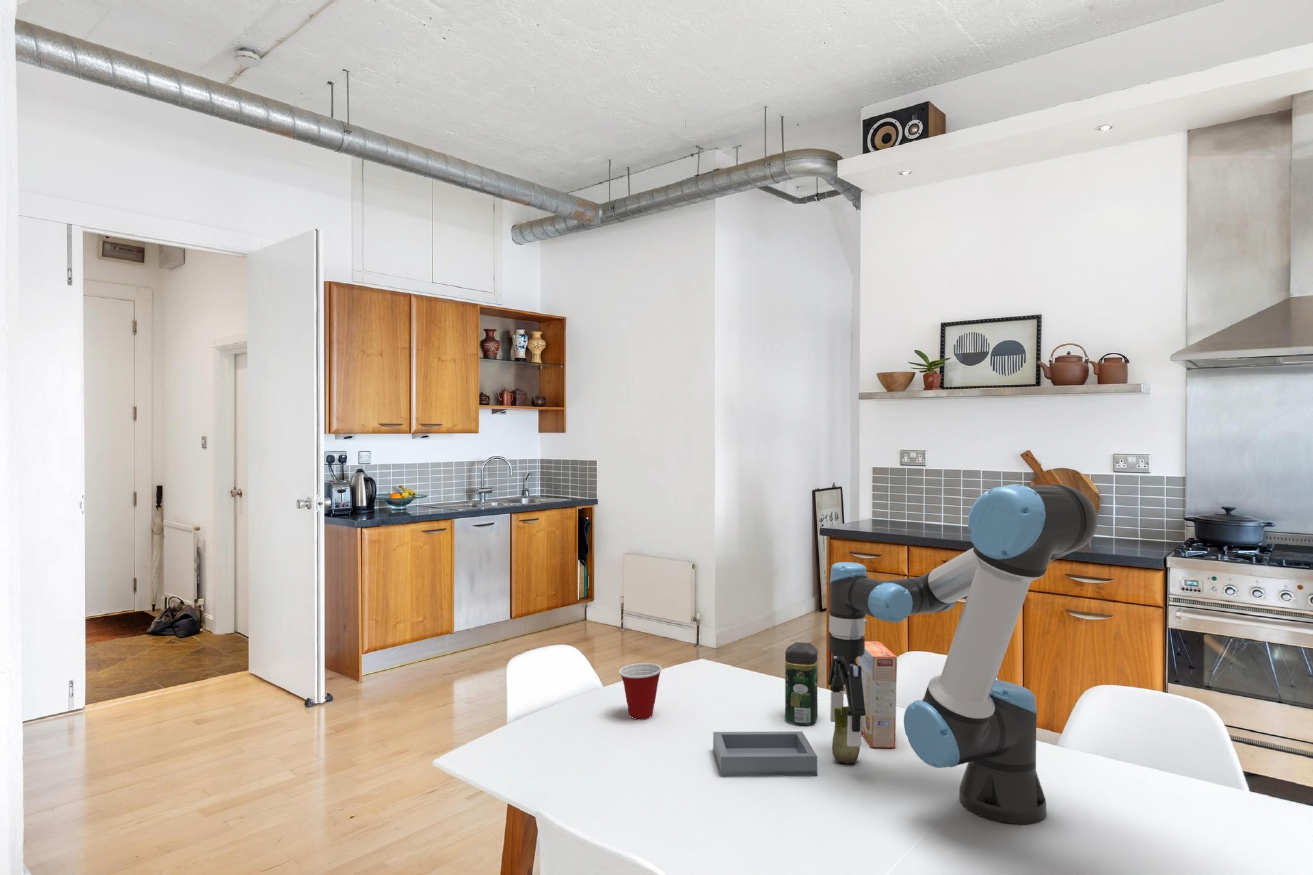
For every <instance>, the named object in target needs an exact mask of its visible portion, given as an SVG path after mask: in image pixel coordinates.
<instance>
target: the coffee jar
mask: <svg viewBox="0 0 1313 875" xmlns="http://www.w3.org/2000/svg"><path fill="white" fill-rule="evenodd" d="M784 653H785V654H784V655H785V660H784V661H785V662H784V664H785V665H784V668H785V669H784V672H785V673H784V676H785V677H784V680H785V681H784V685H785V686H784V690H785V691H784V692H785V693H784V695H785V696H784V701H785V702H784V703H785V704H784V716H785V717H784V718H785V720H786V721H787V723H792V724H794V725H797V726H798V725H799V726H805V725H806V726H807V725H814V724H815V723H816V721H817V720H818V713H819V710H818V709H819V708H818V707H819V706H818V681H819V680H818V658H819V657H818V653H819V652H818V649H817V648H816V646H815V645H813V644H812V643H810V642H800V641H799V642H798V641H797V642H796V641H795V642H794V643H792V644H791V645H789V646H787V648H786V650H785V652H784Z"/></svg>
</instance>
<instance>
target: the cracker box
mask: <svg viewBox="0 0 1313 875" xmlns="http://www.w3.org/2000/svg"><path fill="white" fill-rule="evenodd" d="M857 664H858V666H861V668H862V686H863V695H864V704H865V712H866V715H865V716H862V727H861V735H862V736H863V738H864V739H865V740H866V742H867V743H868V745H869V746H870V747H871V748H876V749H877V748H878V749H879V748H880V749H881V748H883V749H895V748H896V741H897V740H896V739H897V738H896V737H897V736H896V734H897V682H898V681H897V677H898V676H897V674H898V672H897V671H898V656H897V655H895V654H894V653H893V652H892V651H891V650H890V649H889V648H887V646H885V645H884V643H882V642H881V641H873V640H871V641H865V653H864V654H863V655H862V656H859V657H857Z"/></svg>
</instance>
